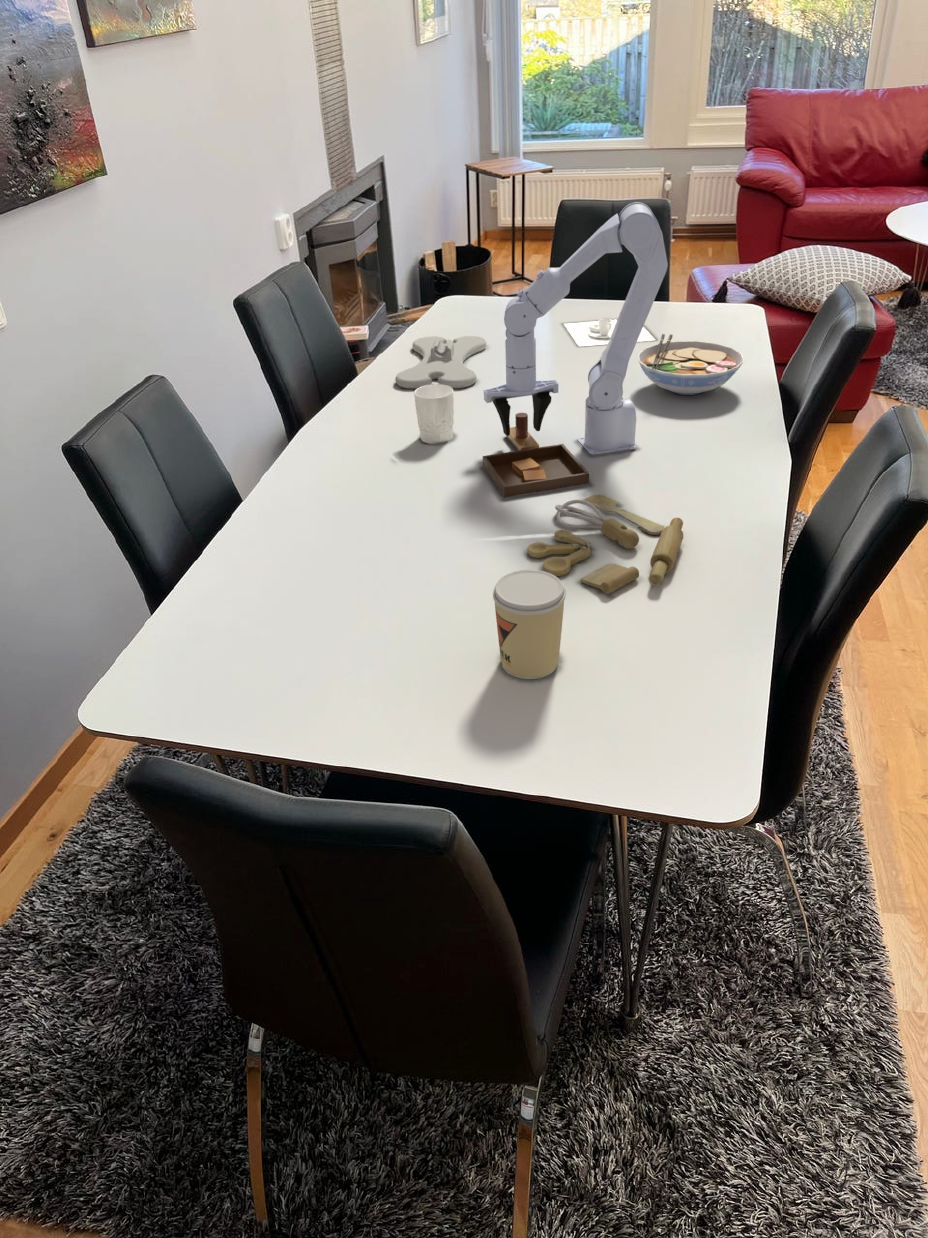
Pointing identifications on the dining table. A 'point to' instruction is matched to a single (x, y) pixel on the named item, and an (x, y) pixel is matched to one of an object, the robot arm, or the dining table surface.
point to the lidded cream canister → (529, 622)
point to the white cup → (435, 412)
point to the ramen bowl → (689, 365)
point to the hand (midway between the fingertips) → (521, 431)
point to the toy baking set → (613, 574)
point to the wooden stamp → (521, 434)
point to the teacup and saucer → (598, 332)
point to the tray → (551, 459)
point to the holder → (442, 362)
